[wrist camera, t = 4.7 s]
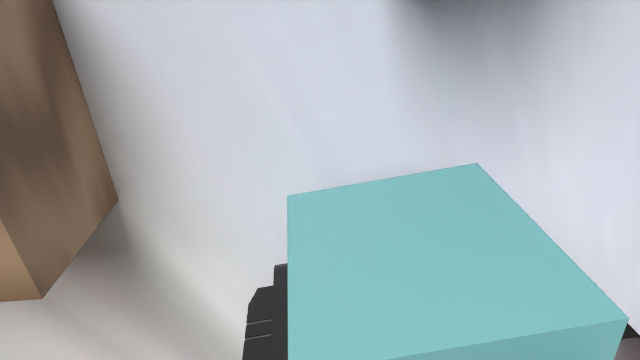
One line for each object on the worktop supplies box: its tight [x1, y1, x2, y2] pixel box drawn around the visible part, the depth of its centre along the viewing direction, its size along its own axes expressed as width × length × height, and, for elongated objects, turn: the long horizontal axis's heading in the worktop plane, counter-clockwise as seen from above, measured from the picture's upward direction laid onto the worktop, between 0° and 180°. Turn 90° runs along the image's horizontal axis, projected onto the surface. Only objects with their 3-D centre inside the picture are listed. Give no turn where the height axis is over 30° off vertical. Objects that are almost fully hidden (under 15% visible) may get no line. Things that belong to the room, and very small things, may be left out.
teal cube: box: [287, 163, 629, 360], centre depth 9 cm, size 5×5×5 cm
